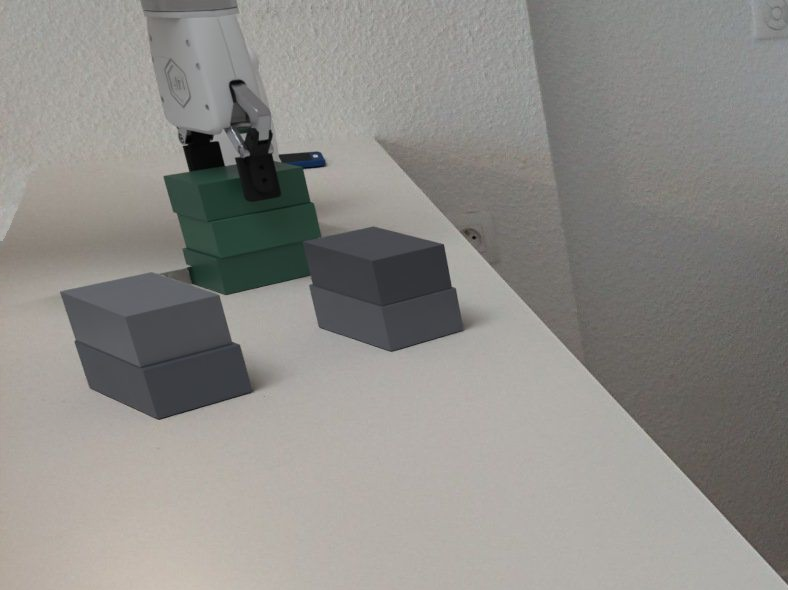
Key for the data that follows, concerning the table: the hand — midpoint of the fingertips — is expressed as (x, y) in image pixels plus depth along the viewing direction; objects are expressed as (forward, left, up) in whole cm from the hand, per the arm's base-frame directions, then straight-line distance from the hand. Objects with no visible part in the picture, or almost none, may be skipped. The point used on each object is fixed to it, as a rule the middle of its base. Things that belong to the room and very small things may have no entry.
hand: (237, 192), depth 122 cm
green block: (0, 0, -1) cm, 1 cm away
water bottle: (+11, +20, -8) cm, 24 cm away
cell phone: (+29, +52, -8) cm, 60 cm away
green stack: (0, 0, -8) cm, 8 cm away
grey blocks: (-11, -25, -8) cm, 28 cm away
